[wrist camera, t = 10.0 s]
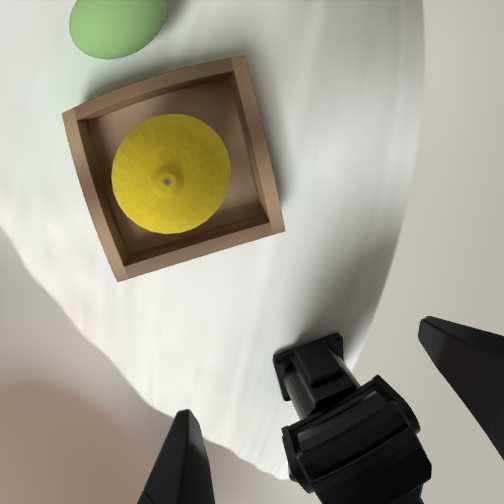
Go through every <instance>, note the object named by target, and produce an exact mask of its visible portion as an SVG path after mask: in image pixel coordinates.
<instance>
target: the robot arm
mask: <svg viewBox="0 0 504 504" xmlns="http://www.w3.org/2000/svg"><path fill="white" fill-rule="evenodd" d="M336 338H337V339H336ZM418 338H419V341H420V342H421V344H422V346H423V347H424V348H425V350H426V352H427V353H428V355H429V356H430V358H431V360H432V361H433V363H434V364H435V366H436V367H437V369H438V370H439V371H440V373H441V374H442V375H443V376H444V378H445V379H446V380H447V382H448V383H449V384H450V385H451V387H452V388H453V389H454V391H455V392H456V393H457V394H458V396H459V397H460V398H461V400H462V401H463V402H464V404H465V405H466V407H467V408H468V409H469V410H470V412H471V413H472V415H473V416H474V417H475V419H476V420H477V422H478V423H479V424H480V426H481V427H482V429H483V430H484V431H485V433H486V434H487V436H488V437H489V439H490V440H491V442H492V443H493V445H494V446H495V448H496V449H497V451H498V452H499V454H500V455H501V457H502V459H503V460H504V336H502V335H498V334H494V333H491V332H487V331H483V330H479V329H476V328H472V327H468V326H465V325H461V324H458V323H454V322H450V321H446V320H443V319H439V318H435V317H432V316H427V317H425V318H424V319H422V320H421V321H420V325H419V332H418ZM278 360H279V361H278ZM273 364H274V368H275V372H276V375H277V379H278V382H279V386H280V390H281V393H282V397H283V399H284V401H290V400H292V403H293V405H294V407H295V409H296V412H297V414H298V416H299V418H300V421H298V422H296V423H294V424H292V425H290V426H288V425H287V426H285V427H283V428H281V429H282V433H283V436H282V441H283V444H284V448H285V452H286V456H287V460H288V468H289V477H290V479H291V480H292V481H294V482H297V483H299V484H300V485H301V486H302V487H303V489H304V490H305V491H306V492H307V493H309V494H310V493H313V492H315V493H316V495H317V496H318V498H319V499H320V501H321V503H322V504H424V503H423V501H422V499H421V492H422V488H423V484H424V483H425V482H427V481H428V480H430V479H431V471H432V465H431V463H430V461H429V459H428V458H427V455H426V453H425V451H424V449H423V447H422V445H421V443H420V441H419V439H418V437H417V435H416V434H417V433H419V432H420V426H419V423H418V420H417V418H416V416H415V415H414V413H413V411H412V409H411V408H410V407H409V405H408V404H407V402H406V401H405V400H404V399H403V398H402V397H401V396H400V395H399V394H398V393H397V392H396V391H395V390H394V389H393V388H392V387H391V386H390V385H389V384H388V383H387V382H385V381H384V380H383V379H382V378H381V377H380V376H379V375H376V376H375V377H373V378H372V380H370V381H369V382H367V383H366V384H364V385H362V386H360V384H359V383H358V381H357V380H356V379H355V377H354V376H353V374H352V373H351V372H350V370H349V369H348V367H347V366H346V365H345V363H344V359H343V338H342V336H341V334H340V333H334V334H332V335H329V336H327V337H324V338H322V339H319V340H317V341H314V342H312V343H309V344H306V345H304V346H301V347H298V348H295V349H293V350H290V351H287V352H284V353H281V354H278V355H276V356H274V357H273ZM144 490H145V491H143V492H142V494H141V496H140V498H139V501H138V503H137V504H215V499H214V492H213V486H212V479H211V472H210V466H209V460H208V456H207V452H206V449H205V445H204V441H203V437H202V433H201V429H200V425H199V423H198V421H197V419H196V418H195V416H194V415H193V413H192V412H191V411H190V410H189V409H185V410H180V411H178V412H177V414H176V416H175V418H174V421H173V423H172V425H171V428H170V430H169V432H168V434H167V437H166V439H165V441H164V444H163V446H162V448H161V450H160V453H159V455H158V457H157V460H156V462H155V464H154V467H153V469H152V471H151V474H150V476H149V478H148V481H147V483H146V485H145V487H144Z"/></svg>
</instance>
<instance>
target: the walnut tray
mask: <svg viewBox="0 0 504 504" xmlns="http://www.w3.org/2000/svg"><path fill="white" fill-rule="evenodd" d="M166 114H183V115H188V116H191V117H194V118H197V119H199V120H201V121H202V122H204V123H205V124H207V125H208V126H210V127H211V128H212V129H213V130H214V131H215V132H216V133H217V134H218V136H219V137H220V138H221V139H222V141H223V143H224V145H225V147H226V149H227V151H228V155H229V160H230V165H231V174H230V184H229V187H228V190H227V193H226V197H225V198H224V200H223V202H222V203H221V205H220V207H219V208H218V210H217V211H216V212H215V213H214V214H213V215H212V216H211V217H210V218H209V219H208V220H207V221H205V222H204V223H202V224H200V225H199V226H197V227H196V228H194V229H191V230H188V231H184V232H181V233H171V234H163V233H157V232H152V231H149V230H147V229H145V228H143V227H140V226H139V225H137V224H136V223H135V222H133V221H132V220H131V219H130V218H128V217H127V215H126V214H125V213H124V211H123V210H122V209H121V208H120V206H119V204H118V202H117V200H116V197H115V195H114V192H113V186H112V178H111V176H112V167H113V160H114V158H115V155H116V153H117V150H118V148H119V146H120V145H121V143H122V142H123V140H124V139H125V137H126V136H127V135H128V133H130V132H131V131H132V130H133V129H134V128H135V127H137V126H138V125H139V124H140V123H142V122H144V121H146V120H149V119H151V118H153V117H156V116H161V115H166ZM62 116H63V121H64V126H65V130H66V134H67V138H68V142H69V146H70V150H71V154H72V158H73V161H74V165H75V169H76V172H77V175H78V179H79V182H80V185H81V188H82V192H83V195H84V198H85V201H86V204H87V207H88V210H89V212H90V215H91V218H92V221H93V224H94V226H95V229H96V232H97V234H98V237H99V239H100V242H101V245H102V247H103V250H104V252H105V254H106V257H107V259H108V262H109V264H110V266H111V269H112V271H113V273H114V276H115V278H116V280H117V282H120V281H124V280H127V279H130V278H133V277H136V276H140V275H143V274H146V273H149V272H152V271H156V270H159V269H162V268H165V267H168V266H172V265H175V264H178V263H181V262H185V261H188V260H191V259H194V258H198V257H201V256H204V255H208V254H211V253H214V252H217V251H221V250H224V249H227V248H231V247H234V246H237V245H240V244H244V243H247V242H250V241H254V240H257V239H260V238H264V237H267V236H270V235H274V234H277V233H281V232H284V231H285V226H284V221H283V216H282V211H281V206H280V201H279V197H278V192H277V187H276V183H275V178H274V174H273V169H272V165H271V160H270V156H269V151H268V147H267V142H266V138H265V134H264V130H263V125H262V121H261V117H260V113H259V109H258V105H257V101H256V97H255V93H254V89H253V85H252V81H251V77H250V73H249V69H248V65H247V62H246V58H245V56H240V57H234V58H228V59H223V60H218V61H213V62H208V63H204V64H199V65H195V66H191V67H187V68H183V69H179V70H175V71H171V72H168V73H164V74H161V75H158V76H154V77H151V78H148V79H145V80H142V81H139V82H136V83H133V84H130V85H127V86H125V87H122V88H119V89H117V90H114V91H111V92H109V93H106V94H104V95H101V96H99V97H97V98H94V99H92V100H90V101H87V102H85V103H83V104H81V105H78V106H76V107H74V108H72V109H70V110H68V111H66V112H64V113H62Z"/></svg>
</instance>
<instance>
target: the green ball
mask: <svg viewBox="0 0 504 504" xmlns="http://www.w3.org/2000/svg"><path fill="white" fill-rule="evenodd" d="M166 10H167V3H166V0H77V1H76V3H75V5H74V7H73V9H72V12H71V15H70V20H69V30H70V34H71V37H72V40H73V42H74V43H75V45H76V46H77V47H78V48H79V49H80V50H81V51H82V52H84V53H85V54H87V55H89V56H92V57H95V58H99V59H117V58H122V57H125V56H128V55H131V54H133V53H135V52H137V51H139V50H140V49H142V48H143V47H145V46H146V45H147V44H148V43H149V42H150V41H152V39H153V38H154V37H155V36H156V35H157V34H158V32H159V31H160V29H161V27H162V25H163V23H164V20H165V17H166Z"/></svg>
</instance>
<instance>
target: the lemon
mask: <svg viewBox="0 0 504 504" xmlns="http://www.w3.org/2000/svg"><path fill="white" fill-rule="evenodd" d="M230 174H231V165H230V160H229V155H228V151H227V149H226V147H225V145H224V143H223V141H222V139H221V138H220V137H219V136H218V134H217V133H216V132H215V131H214V130H213V129H212V128H211V127H210V126H208V125H207V124H205V123H204V122H202V121H201V120H199V119H197V118H194V117H191V116H188V115H183V114H166V115H161V116H156V117H153V118H151V119H149V120H146V121H144V122H142V123H140V124H139V125H138V126H137V127H135V128H134V129H133V130H132V131H131V132H130V133H128V135H127V136H126V137H125V139H124V140H123V142H122V143H121V145H120V146H119V148H118V150H117V153H116V155H115V158H114V160H113V167H112V176H111V178H112V186H113V192H114V195H115V197H116V200H117V202H118V204H119V206H120V208H121V209H122V210H123V211H124V213H125V214H126V215H127V217H128V218H130V219H131V220H132V221H133V222H135V223H136V224H137V225H139V226H140V227H143V228H145V229H147V230H149V231H152V232H157V233H163V234H171V233H181V232H184V231H188V230H191V229H194V228H196V227H197V226H199V225H200V224H202V223H204V222H205V221H207V220H208V219H209V218H210V217H211V216H212V215H213V214H214V213H215V212H216V211H217V210H218V208H219V207H220V205H221V203H222V202H223V200H224V198H225V197H226V193H227V190H228V187H229V184H230Z"/></svg>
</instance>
